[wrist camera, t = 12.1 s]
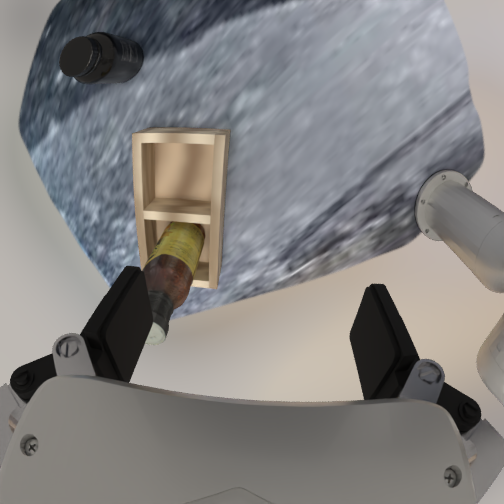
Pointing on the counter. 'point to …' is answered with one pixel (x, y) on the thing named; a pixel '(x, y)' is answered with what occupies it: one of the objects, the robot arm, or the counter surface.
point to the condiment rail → (181, 189)
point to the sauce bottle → (171, 273)
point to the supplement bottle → (101, 59)
